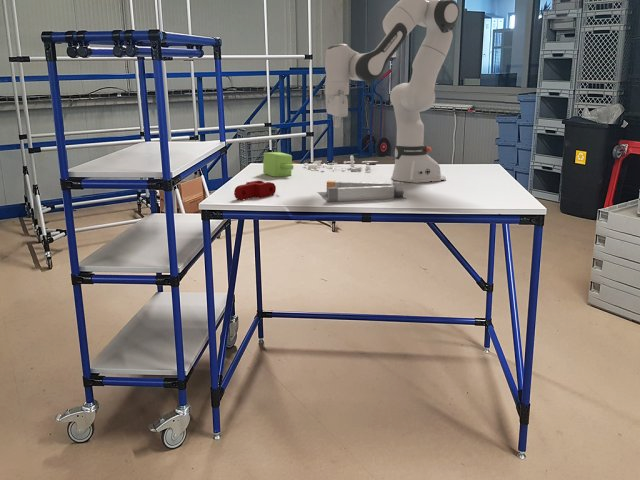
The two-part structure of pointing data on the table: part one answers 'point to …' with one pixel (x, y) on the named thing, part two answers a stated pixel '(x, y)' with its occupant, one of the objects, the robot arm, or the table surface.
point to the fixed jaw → (366, 193)
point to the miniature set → (318, 163)
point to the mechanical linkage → (254, 190)
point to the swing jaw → (354, 184)
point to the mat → (325, 194)
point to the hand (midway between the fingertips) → (336, 127)
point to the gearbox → (277, 164)
